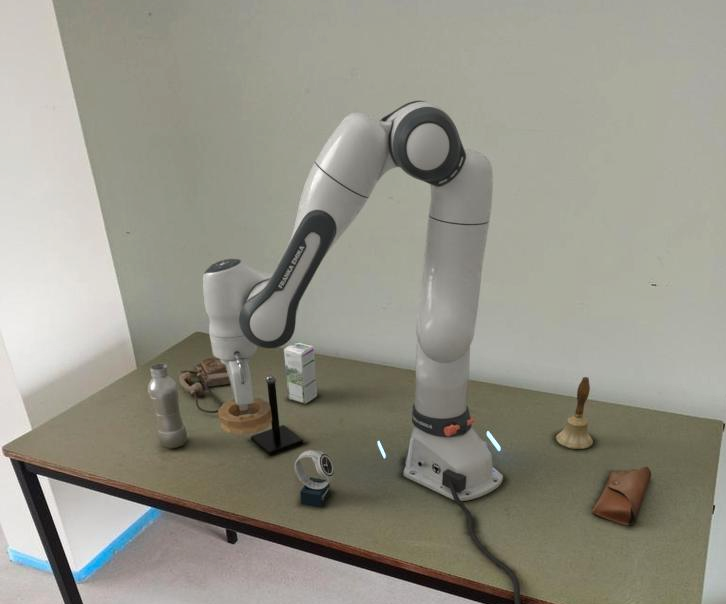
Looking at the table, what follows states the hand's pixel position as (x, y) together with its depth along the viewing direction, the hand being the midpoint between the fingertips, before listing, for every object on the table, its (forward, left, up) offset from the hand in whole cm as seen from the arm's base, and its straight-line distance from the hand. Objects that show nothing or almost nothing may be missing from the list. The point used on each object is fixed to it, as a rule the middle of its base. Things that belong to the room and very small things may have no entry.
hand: (242, 405), depth 141 cm
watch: (-19, -5, -16) cm, 25 cm away
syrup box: (+22, -27, -16) cm, 39 cm away
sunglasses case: (-57, -55, -16) cm, 81 cm away
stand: (+6, -10, -16) cm, 20 cm away
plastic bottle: (+20, +10, -16) cm, 27 cm away
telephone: (+43, -10, -16) cm, 47 cm away
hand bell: (-36, -66, -16) cm, 77 cm away
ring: (-4, +1, -2) cm, 5 cm away
